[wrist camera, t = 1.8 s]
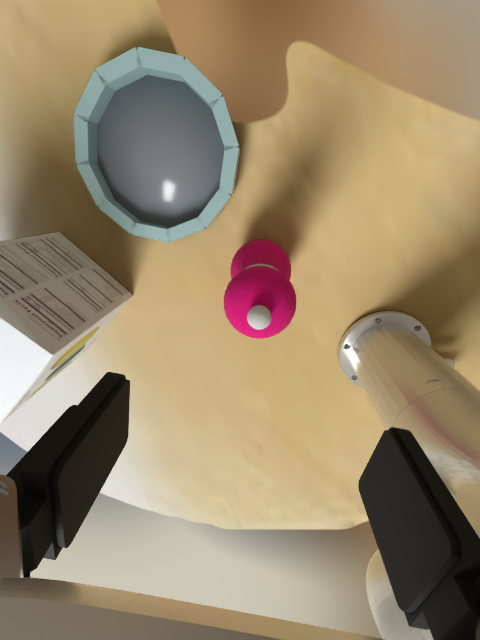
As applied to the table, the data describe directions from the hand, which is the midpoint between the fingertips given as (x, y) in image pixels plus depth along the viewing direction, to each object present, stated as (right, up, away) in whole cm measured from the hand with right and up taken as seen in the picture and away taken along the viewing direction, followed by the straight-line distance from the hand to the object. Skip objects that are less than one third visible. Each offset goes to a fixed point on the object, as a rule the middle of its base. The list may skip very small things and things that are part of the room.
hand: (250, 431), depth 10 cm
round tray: (-10, +23, +24) cm, 35 cm away
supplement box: (-25, +8, +32) cm, 41 cm away
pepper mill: (+2, +12, +28) cm, 31 cm away
